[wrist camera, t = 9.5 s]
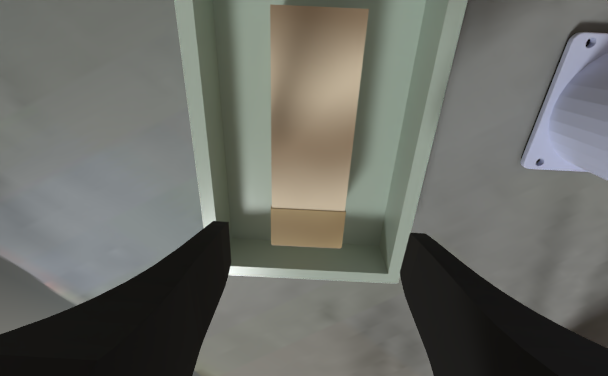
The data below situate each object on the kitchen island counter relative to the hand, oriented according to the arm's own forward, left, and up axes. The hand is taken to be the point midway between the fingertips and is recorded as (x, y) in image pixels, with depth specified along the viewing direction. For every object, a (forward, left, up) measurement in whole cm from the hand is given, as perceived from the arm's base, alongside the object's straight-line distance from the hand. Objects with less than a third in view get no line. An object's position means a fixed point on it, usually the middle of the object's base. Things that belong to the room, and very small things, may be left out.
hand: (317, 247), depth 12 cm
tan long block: (0, -3, -8) cm, 9 cm away
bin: (0, -3, -9) cm, 10 cm away
